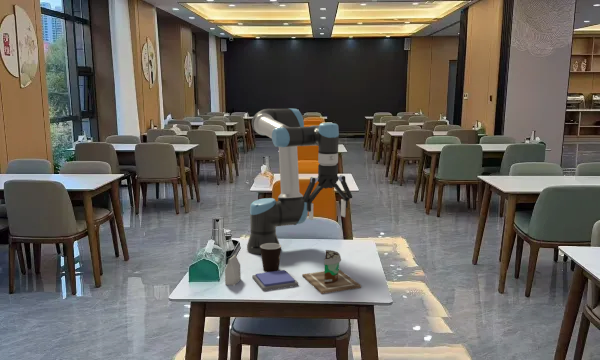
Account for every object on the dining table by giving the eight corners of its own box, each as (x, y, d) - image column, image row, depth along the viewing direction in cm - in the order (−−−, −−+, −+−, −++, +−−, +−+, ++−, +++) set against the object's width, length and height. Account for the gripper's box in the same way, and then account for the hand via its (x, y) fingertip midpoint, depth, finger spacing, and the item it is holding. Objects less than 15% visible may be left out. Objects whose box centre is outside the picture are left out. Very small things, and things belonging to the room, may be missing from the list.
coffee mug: (275, 274, 211) (275, 250, 209) (256, 271, 214) (256, 247, 213) (288, 265, 221) (288, 242, 220) (270, 262, 225) (269, 240, 223)
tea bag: (240, 279, 206) (240, 254, 204) (234, 285, 199) (233, 260, 198) (231, 278, 207) (231, 254, 205) (225, 284, 200) (224, 259, 198)
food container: (340, 285, 196) (341, 259, 194) (324, 285, 196) (324, 259, 195) (341, 274, 208) (341, 249, 206) (325, 273, 209) (325, 249, 207)
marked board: (302, 276, 208) (302, 273, 208) (339, 271, 214) (339, 268, 214) (321, 293, 191) (321, 290, 191) (360, 287, 196) (360, 284, 196)
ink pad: (252, 278, 207) (252, 273, 206) (285, 273, 212) (285, 268, 211) (262, 290, 194) (262, 285, 193) (298, 285, 199) (298, 280, 198)
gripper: (301, 167, 193) (300, 223, 197) (361, 163, 201) (360, 217, 205) (294, 164, 199) (293, 218, 204) (353, 160, 208) (351, 212, 212)
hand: (327, 217), depth 205 cm, fingers open, 13 cm apart
